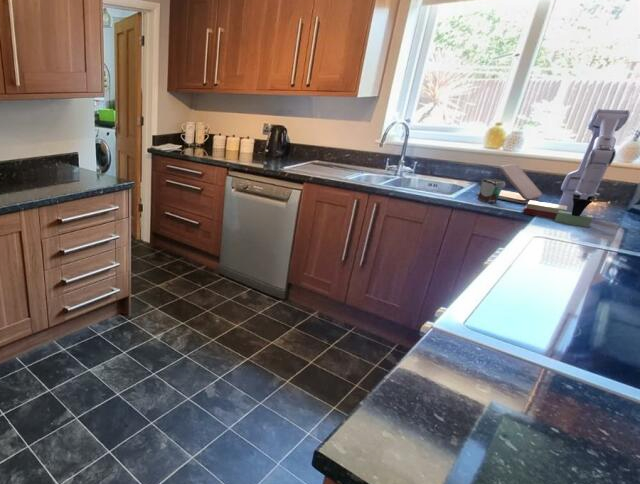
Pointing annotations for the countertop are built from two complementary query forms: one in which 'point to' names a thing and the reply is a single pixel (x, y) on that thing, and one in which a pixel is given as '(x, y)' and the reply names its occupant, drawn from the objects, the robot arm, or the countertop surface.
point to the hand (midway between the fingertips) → (575, 214)
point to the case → (518, 186)
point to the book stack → (543, 209)
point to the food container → (490, 190)
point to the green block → (573, 218)
